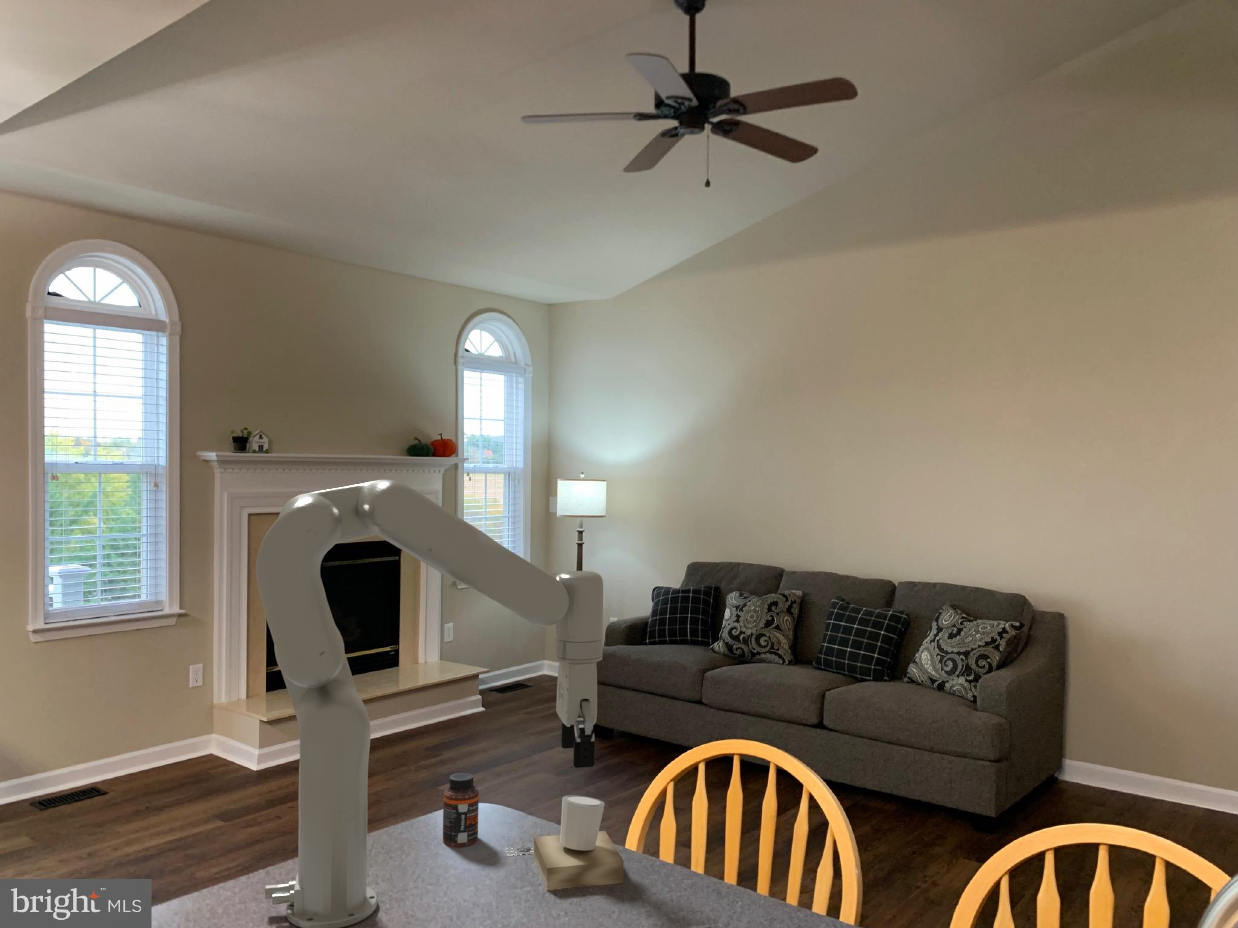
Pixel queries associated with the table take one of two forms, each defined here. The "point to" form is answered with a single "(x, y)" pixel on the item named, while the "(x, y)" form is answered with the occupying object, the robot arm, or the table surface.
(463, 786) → the supplement bottle
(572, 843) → the light grey cup
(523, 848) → the push button plate
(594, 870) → the maple block
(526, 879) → the table surface
